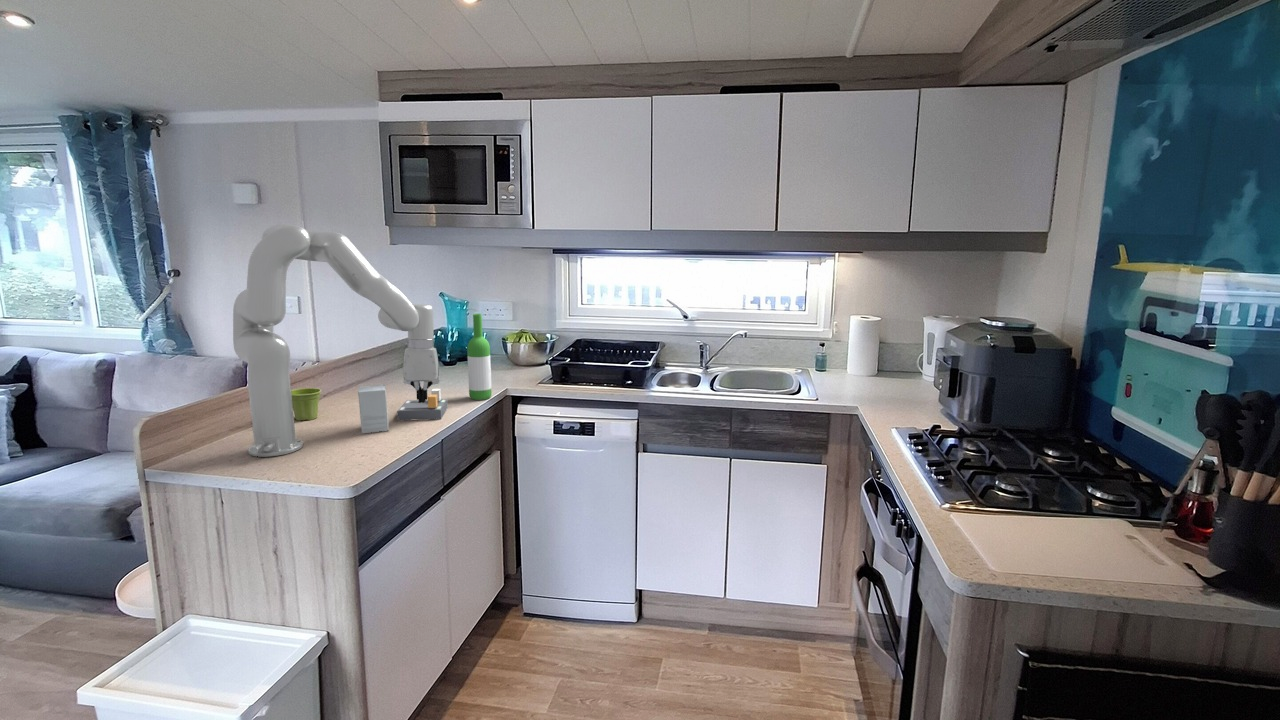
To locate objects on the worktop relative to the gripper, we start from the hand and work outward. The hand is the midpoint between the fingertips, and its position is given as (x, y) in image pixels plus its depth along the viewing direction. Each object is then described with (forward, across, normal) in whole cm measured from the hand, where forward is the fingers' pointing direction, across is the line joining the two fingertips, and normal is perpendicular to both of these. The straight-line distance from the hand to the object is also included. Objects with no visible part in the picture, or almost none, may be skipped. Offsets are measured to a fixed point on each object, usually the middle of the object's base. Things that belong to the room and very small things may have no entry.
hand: (422, 401), depth 195 cm
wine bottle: (+4, +16, +23) cm, 29 cm away
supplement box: (+6, -12, -10) cm, 17 cm away
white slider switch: (+1, +3, +8) cm, 9 cm away
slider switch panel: (+5, 0, +4) cm, 7 cm away
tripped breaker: (+2, +3, 0) cm, 4 cm away
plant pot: (+6, -35, +4) cm, 36 cm away
